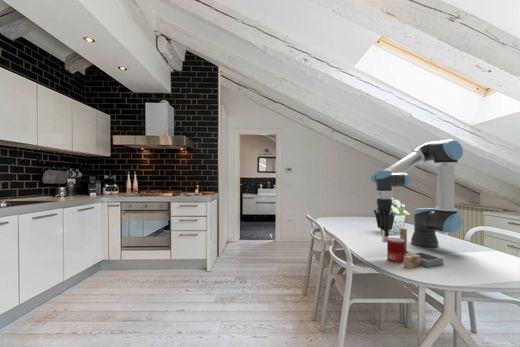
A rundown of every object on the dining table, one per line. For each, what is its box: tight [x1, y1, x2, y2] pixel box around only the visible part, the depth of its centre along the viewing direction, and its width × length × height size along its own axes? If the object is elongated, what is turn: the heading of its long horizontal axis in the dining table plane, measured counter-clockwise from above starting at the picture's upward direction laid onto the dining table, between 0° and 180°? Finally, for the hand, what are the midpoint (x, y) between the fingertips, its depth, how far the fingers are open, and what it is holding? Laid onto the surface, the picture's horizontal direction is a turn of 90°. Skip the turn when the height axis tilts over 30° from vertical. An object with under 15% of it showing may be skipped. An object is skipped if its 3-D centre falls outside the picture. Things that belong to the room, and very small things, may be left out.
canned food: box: [386, 237, 405, 264], centre depth 145 cm, size 8×8×11 cm
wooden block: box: [402, 254, 421, 269], centre depth 136 cm, size 8×3×5 cm, turn 114°
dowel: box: [399, 227, 408, 253], centre depth 152 cm, size 3×3×15 cm
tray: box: [405, 251, 444, 268], centre depth 142 cm, size 12×12×3 cm
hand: (384, 241), depth 152 cm, fingers closed
